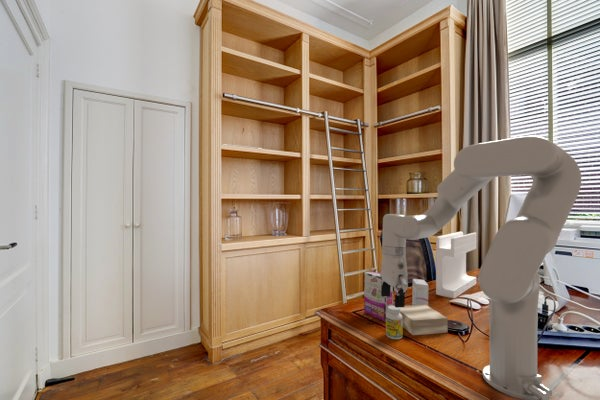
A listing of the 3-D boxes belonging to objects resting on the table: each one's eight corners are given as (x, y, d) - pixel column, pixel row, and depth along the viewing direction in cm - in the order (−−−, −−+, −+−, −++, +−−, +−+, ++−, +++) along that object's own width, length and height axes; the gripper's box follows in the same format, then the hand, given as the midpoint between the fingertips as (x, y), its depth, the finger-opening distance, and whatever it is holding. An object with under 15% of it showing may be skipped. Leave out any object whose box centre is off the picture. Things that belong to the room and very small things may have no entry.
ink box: (428, 314, 115) (429, 284, 115) (415, 313, 116) (415, 283, 116) (424, 306, 123) (424, 279, 123) (411, 305, 124) (411, 278, 124)
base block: (447, 332, 99) (447, 318, 99) (412, 335, 97) (412, 320, 97) (425, 317, 112) (425, 304, 112) (394, 319, 110) (394, 306, 110)
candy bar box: (394, 319, 109) (394, 276, 109) (385, 322, 107) (385, 278, 107) (372, 310, 119) (372, 270, 119) (363, 312, 116) (363, 272, 116)
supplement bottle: (403, 334, 97) (403, 306, 97) (400, 341, 92) (401, 311, 92) (387, 331, 100) (387, 303, 100) (384, 337, 95) (384, 308, 95)
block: (460, 280, 163) (460, 231, 163) (476, 283, 157) (476, 232, 157) (436, 294, 139) (436, 236, 139) (453, 298, 133) (454, 238, 133)
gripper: (418, 256, 88) (416, 311, 89) (391, 246, 105) (390, 292, 106) (395, 256, 87) (394, 312, 88) (372, 246, 104) (371, 292, 105)
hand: (392, 301), depth 97 cm, fingers open, 9 cm apart
